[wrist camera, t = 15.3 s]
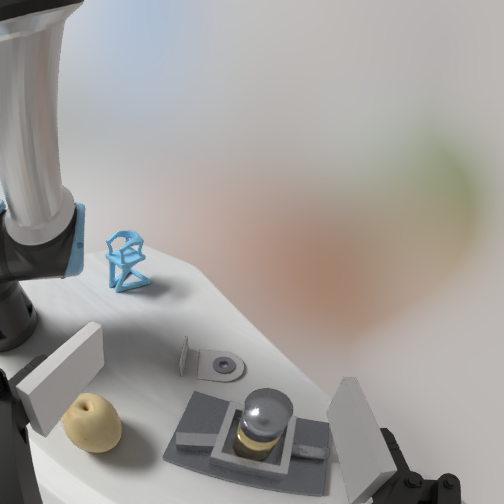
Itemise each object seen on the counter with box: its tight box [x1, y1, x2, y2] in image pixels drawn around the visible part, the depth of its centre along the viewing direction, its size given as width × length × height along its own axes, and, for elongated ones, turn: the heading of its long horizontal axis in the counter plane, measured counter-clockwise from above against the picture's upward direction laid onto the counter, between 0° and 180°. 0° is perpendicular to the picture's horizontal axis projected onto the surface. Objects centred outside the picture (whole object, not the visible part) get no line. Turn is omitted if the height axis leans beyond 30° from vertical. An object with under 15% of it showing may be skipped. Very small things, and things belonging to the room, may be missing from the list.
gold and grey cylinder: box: [234, 388, 293, 461], centre depth 27 cm, size 5×5×10 cm
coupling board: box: [163, 391, 330, 496], centre depth 29 cm, size 20×12×4 cm, turn 78°
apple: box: [62, 393, 122, 453], centre depth 25 cm, size 8×8×8 cm
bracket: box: [179, 336, 244, 382], centre depth 42 cm, size 7×10×4 cm, turn 91°
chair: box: [106, 230, 150, 292], centre depth 56 cm, size 8×8×12 cm
